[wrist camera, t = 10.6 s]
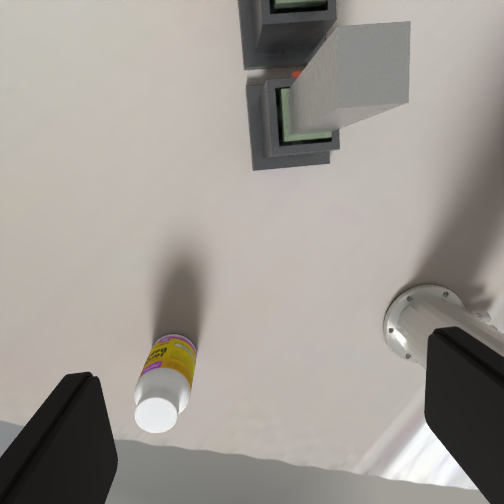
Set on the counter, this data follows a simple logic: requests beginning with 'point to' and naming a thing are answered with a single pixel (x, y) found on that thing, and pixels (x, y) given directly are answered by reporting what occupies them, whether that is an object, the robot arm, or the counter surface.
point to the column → (348, 80)
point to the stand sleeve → (280, 131)
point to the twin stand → (283, 31)
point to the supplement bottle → (165, 383)
